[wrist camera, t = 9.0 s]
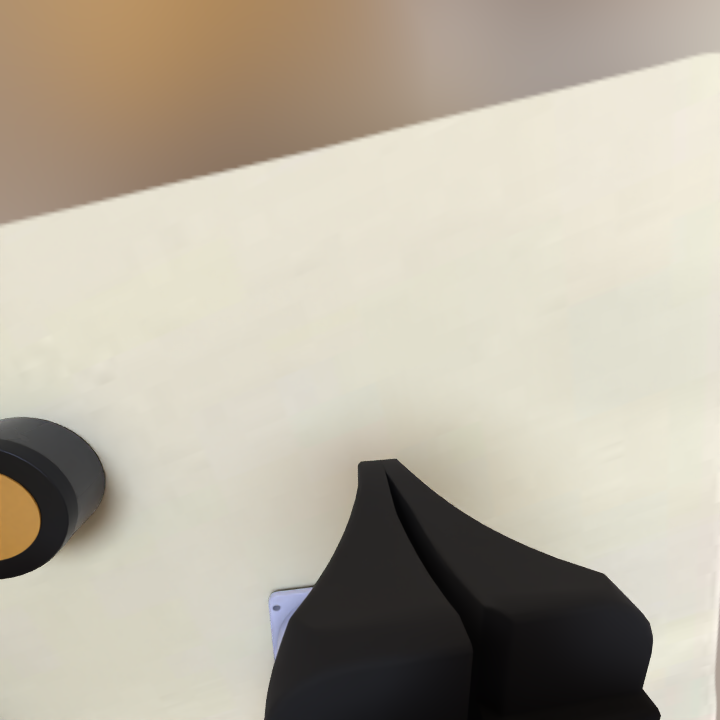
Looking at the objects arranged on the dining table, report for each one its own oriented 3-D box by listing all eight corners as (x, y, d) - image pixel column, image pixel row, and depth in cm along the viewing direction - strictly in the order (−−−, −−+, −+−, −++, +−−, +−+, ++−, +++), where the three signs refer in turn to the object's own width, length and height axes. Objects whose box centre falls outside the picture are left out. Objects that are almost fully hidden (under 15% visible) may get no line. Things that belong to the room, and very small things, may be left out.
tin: (118, 526, 21) (82, 571, 17) (-22, 540, 20) (-86, 590, 17) (91, 411, 19) (46, 438, 16) (-64, 421, 18) (-145, 452, 15)
